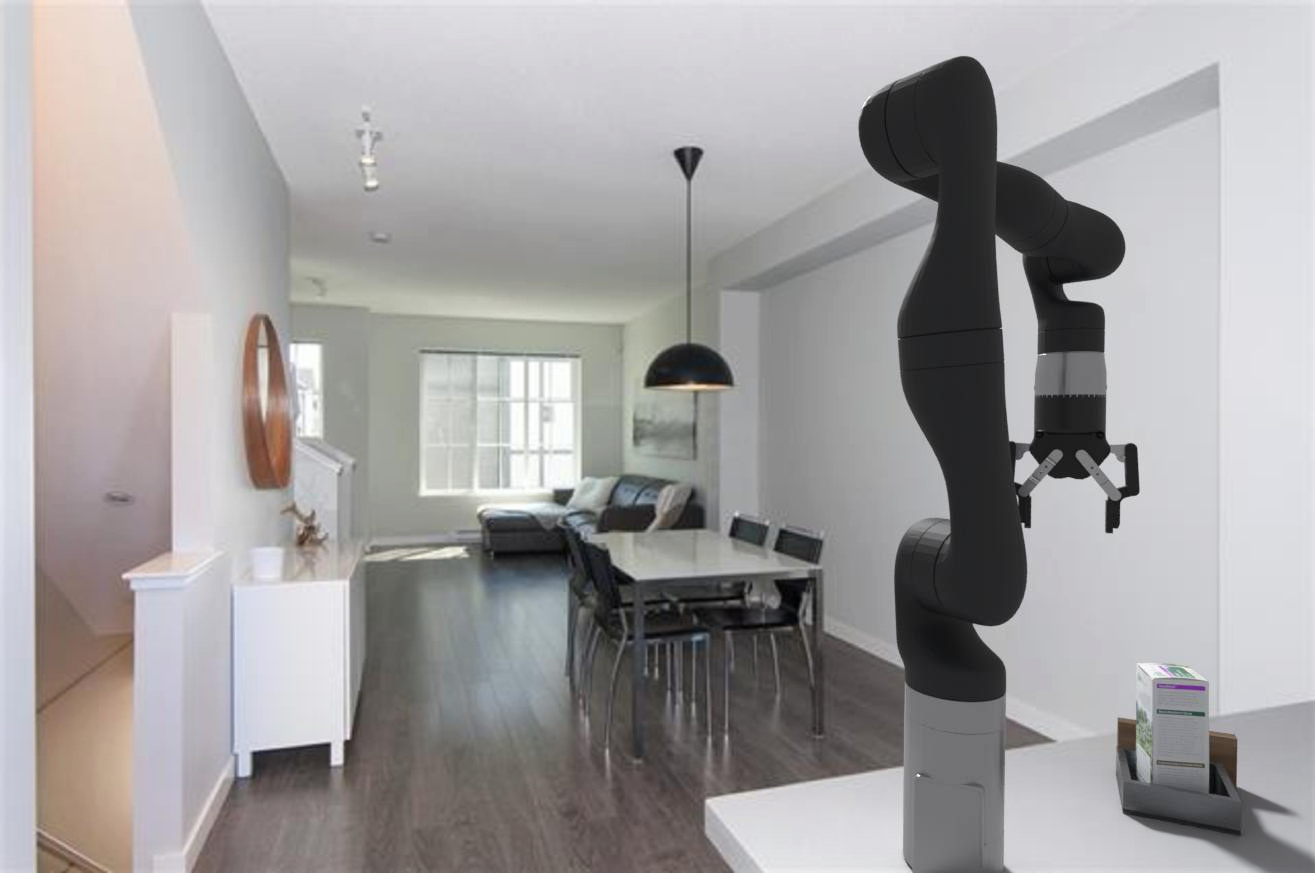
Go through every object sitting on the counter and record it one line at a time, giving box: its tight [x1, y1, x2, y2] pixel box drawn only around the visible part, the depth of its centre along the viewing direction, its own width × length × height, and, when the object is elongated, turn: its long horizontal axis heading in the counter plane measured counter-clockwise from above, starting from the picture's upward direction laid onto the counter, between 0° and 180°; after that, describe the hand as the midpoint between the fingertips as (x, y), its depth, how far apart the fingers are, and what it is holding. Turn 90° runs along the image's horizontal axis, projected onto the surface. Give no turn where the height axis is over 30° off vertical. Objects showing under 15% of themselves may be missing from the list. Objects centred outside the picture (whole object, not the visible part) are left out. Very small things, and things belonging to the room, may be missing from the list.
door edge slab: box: [1116, 716, 1238, 791], centre depth 96 cm, size 2×12×6 cm, turn 64°
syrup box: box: [1135, 662, 1210, 793], centre depth 89 cm, size 6×6×14 cm
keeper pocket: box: [1115, 745, 1242, 836], centre depth 90 cm, size 11×11×4 cm
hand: (1067, 530), depth 94 cm, fingers open, 8 cm apart
